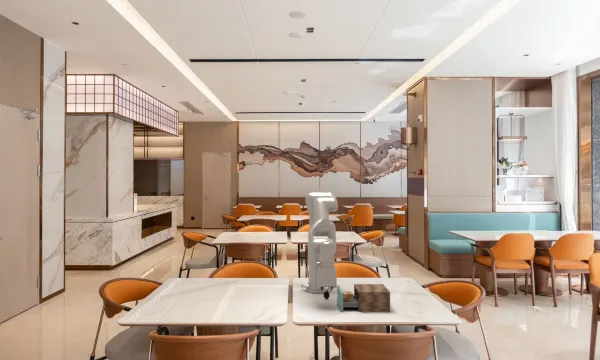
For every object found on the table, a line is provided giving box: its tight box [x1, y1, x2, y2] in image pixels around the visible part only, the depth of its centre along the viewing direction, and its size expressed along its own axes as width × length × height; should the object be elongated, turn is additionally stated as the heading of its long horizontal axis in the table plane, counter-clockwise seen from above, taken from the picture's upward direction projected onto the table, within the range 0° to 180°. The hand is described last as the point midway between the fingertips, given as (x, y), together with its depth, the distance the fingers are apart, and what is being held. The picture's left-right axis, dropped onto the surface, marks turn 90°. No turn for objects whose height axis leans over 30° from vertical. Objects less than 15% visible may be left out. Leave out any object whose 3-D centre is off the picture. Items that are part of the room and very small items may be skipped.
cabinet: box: [353, 283, 391, 313], centre depth 216 cm, size 16×16×10 cm
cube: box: [342, 291, 354, 302], centre depth 215 cm, size 5×5×5 cm
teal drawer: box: [336, 284, 359, 312], centre depth 215 cm, size 16×16×9 cm
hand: (326, 299), depth 215 cm, fingers closed
